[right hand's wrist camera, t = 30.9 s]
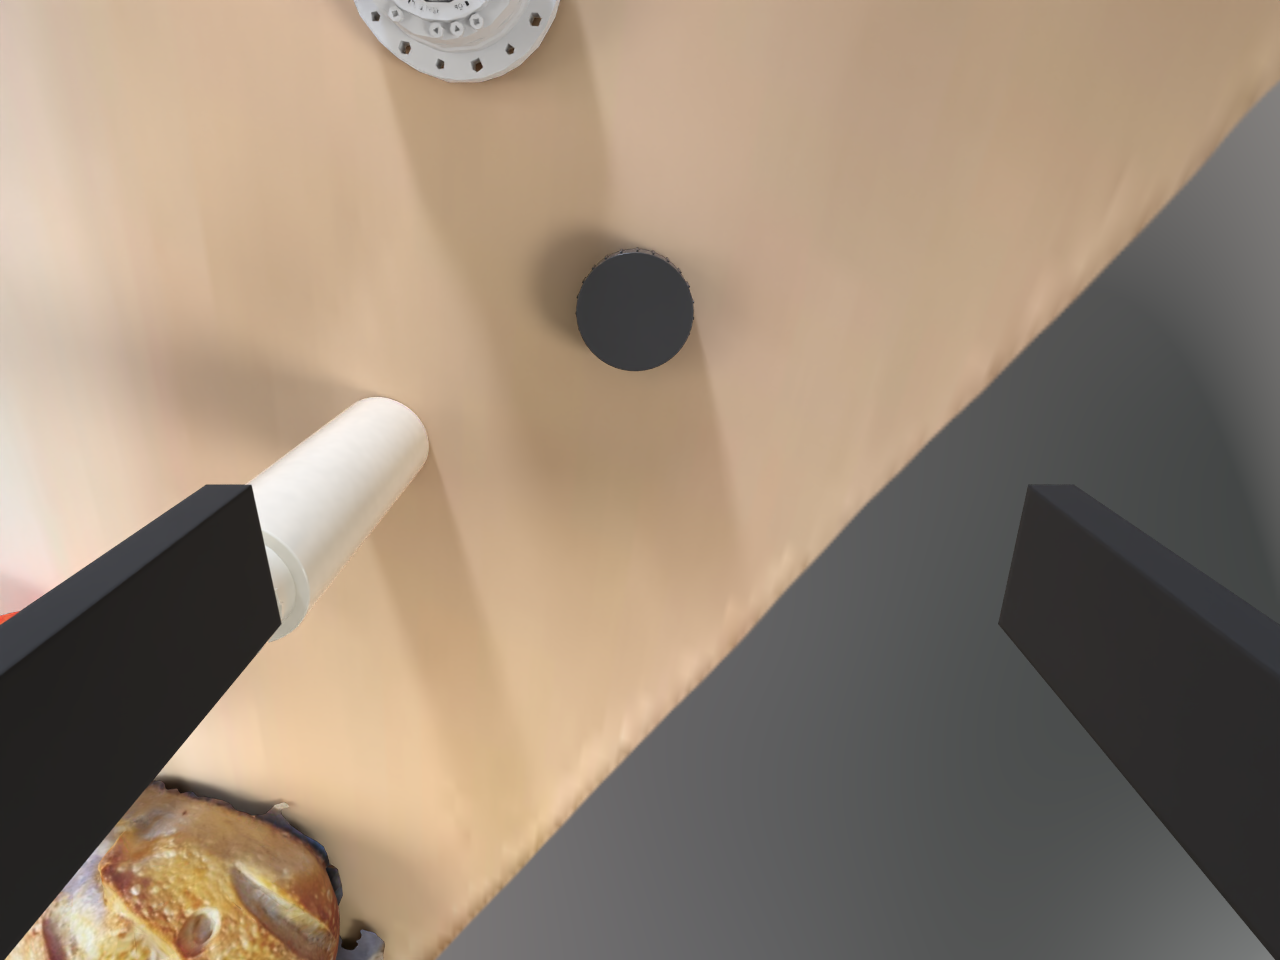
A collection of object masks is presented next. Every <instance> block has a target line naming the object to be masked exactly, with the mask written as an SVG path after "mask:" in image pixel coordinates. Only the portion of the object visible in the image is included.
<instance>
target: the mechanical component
mask: <svg viewBox="0 0 1280 960" xmlns="http://www.w3.org/2000/svg"><path fill="white" fill-rule="evenodd" d="M354 2H355V5H356V7H357V10H358V12H359V14H360V16H361V18H362V19H363V20H364V22H365V23H366V24H367V26H368V27H369V28H370V30H371V31H372V32H373V33H374V35H375V36H376V37H377V39H378V40H379V41H380V42H381V43H382V44H383V45H384V46H385V47H386V48H387V49H388V50H389V51H391V52H392V53H393V54H394V55H395V56H396V57H397V58H399V59H400V60H402V61H403V62H405V63H406V64H408V65H410V66H411V67H413V68H414V69H416V70H418V71H419V72H422V73H425V74H427V75H430V76H433V77H435V78H438V79H441V80H443V81H446V82H483V81H486V80H490V79H493V78H496V77H500V76H502V75H504V74H506V73H508V72H509V71H511V70H513V69H514V68H516V67H518V66H520V65H521V64H522V63H523V62H524V61H525V60H526V59H527V58H528V57H529V56H530V55H531V54H532V53H533V52H534V51H535V50H536V49H537V48H538V47H539V46H540V44H541V42H542V40H543V39H544V37H545V35H546V33H547V32H548V30H549V28H550V26H551V24H552V22H553V21H554V19H555V17H556V13H557V10H558V6H559V3H560V0H354ZM534 18H541V21H540V24H539V26H532V23H533V20H534ZM378 20H379V21H378ZM408 45H410V47H411V50H410V52H409V54H406V53H405V51H406V47H407V46H408ZM512 48H515V49H514V53H513V54H510V55H509V50H511V49H512ZM479 62H481V64H482V66H483V68H482V69H481V70H479V71H478V72H476V64H477V63H479ZM443 64H444V68H443V69H441V67H442V65H443Z"/></svg>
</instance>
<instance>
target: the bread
mask: <svg viewBox="0 0 1280 960" xmlns="http://www.w3.org/2000/svg"><path fill="white" fill-rule="evenodd" d="M283 808H289V806H288V804H287V803H284V802H283V803H280V804H277V805H274V806H273V807H272V808H271V809H270V810H269V811H268V812H267V813H265V814H262V815H255V816H251V815H250V814H248V813H245V812H240V811H236V810H235V809H234V808H233V806H232V805H231V804H230V803H228V802H226V801H223V800H219V799H214V798H208V797H198V796H197V795H196V794H195V793H194V792H190V791H189V792H185V793H180V792H179V791H178V789H170V790H168V789H166V788H165V784H164V783H163V782H162V781H160V780H158V781H152V782H151V783H150V784H149V785H148V787H147V788H146V789H145V790H144V792H143V793H142V794H141V795H140V796H139V798H138V799H137V800H136V801H135V802H134V804H133V805H132V806H131V807H130V808H129V810H128V811H127V812H126V813H125V815H124V816H123V817H122V818H121V819H120V821H119V822H118V823H117V824H116V825H115V827H114V828H113V829H112V830H111V831H110V833H109V834H108V835H107V836H106V838H105V839H104V840H103V841H102V842H101V844H100V845H99V846H98V847H97V848H96V850H95V851H94V852H93V853H92V855H91V856H90V857H89V858H88V859H87V861H86V862H85V863H84V864H83V865H82V867H81V868H80V869H79V870H78V871H77V873H76V874H75V875H74V876H73V878H72V879H71V880H70V881H69V882H68V884H67V885H66V886H65V887H64V888H63V890H62V891H61V892H60V893H59V895H58V896H57V897H56V898H55V899H54V901H53V902H52V903H51V904H50V905H49V907H48V908H47V909H46V910H45V911H44V913H43V914H42V915H41V916H40V918H39V919H38V920H37V921H36V922H35V924H34V925H33V926H32V927H31V928H30V930H29V931H28V932H27V933H26V935H25V936H24V937H23V938H22V939H21V941H20V942H19V943H18V944H17V945H16V947H15V948H14V949H13V950H12V951H11V953H10V954H9V955H8V956H7V958H6V959H5V960H383V953H384V947H385V944H384V941H383V940H382V939H381V938H379V937H378V936H377V935H376V933H374V932H368V931H365V930H361V931H360V932H361V936H362V937H361V938H360V939H359V940H357V941H356V942H357V943H358V946H356V948H355V949H354V950H346V949H344V948H342V947H341V944H342V939H341V937H340V935H339V926H340V918H339V907H338V905H339V903H340V900H341V898H342V896H343V893H342V885H341V881H340V877H339V873H338V869H337V868H335V867H334V866H332V865H330V864H329V860H328V856H327V853H326V851H325V849H324V847H323V846H322V845H321V844H319V843H318V842H317V841H315V840H313V839H311V838H309V837H307V836H306V835H304V834H302V833H301V832H299V831H298V830H297V829H295V828H294V827H292V826H291V825H290V824H289V822H288V821H287V820H286V819H285V818H284V817H283V816H282V814H281V810H282V809H283Z"/></svg>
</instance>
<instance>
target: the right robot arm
mask: <svg viewBox="0 0 1280 960" xmlns="http://www.w3.org/2000/svg"><path fill="white" fill-rule="evenodd" d="M281 624H282V623H281V618H280V614H279V609H278V604H277V600H276V595H275V590H274V586H273V581H272V577H271V572H270V567H269V563H268V558H267V553H266V549H265V544H264V539H263V535H262V530H261V526H260V521H259V516H258V512H257V507H256V502H255V498H254V493H253V488H252V485H205V486H204V487H202V488H201V489H199V490H198V491H196V492H195V493H193V494H192V495H190V496H189V497H187V498H186V499H184V500H183V501H182V502H180V503H179V504H177V505H176V506H174V507H173V508H171V509H170V510H168V511H167V512H165V513H164V514H162V515H161V516H159V517H158V518H157V519H155V520H154V521H152V522H151V523H149V524H148V525H146V526H145V527H143V528H142V529H140V530H139V531H137V532H136V533H134V534H133V535H132V536H130V537H129V538H127V539H126V540H124V541H123V542H121V543H120V544H118V545H117V546H115V547H114V548H112V549H111V550H109V551H108V552H107V553H105V554H104V555H102V556H101V557H99V558H98V559H96V560H95V561H93V562H92V563H90V564H89V565H87V566H86V567H85V568H83V569H82V570H80V571H79V572H77V573H76V574H74V575H73V576H71V577H70V578H68V579H67V580H65V581H64V582H62V583H61V584H60V585H58V586H57V587H55V588H54V589H52V590H51V591H49V592H48V593H46V594H45V595H43V596H42V597H40V598H39V599H37V600H36V601H35V602H33V603H32V604H30V605H29V606H27V607H26V608H24V609H23V610H21V611H20V612H18V613H17V614H15V615H14V616H12V617H11V618H10V619H8V620H7V621H5V622H4V623H2V624H1V625H0V960H5V959H6V958H7V956H8V955H9V954H10V953H11V951H12V950H13V949H14V948H15V947H16V945H17V944H18V943H19V942H20V941H21V939H22V938H23V937H24V936H25V935H26V933H27V932H28V931H29V930H30V928H31V927H32V926H33V925H34V924H35V922H36V921H37V920H38V919H39V918H40V916H41V915H42V914H43V913H44V911H45V910H46V909H47V908H48V907H49V905H50V904H51V903H52V902H53V901H54V899H55V898H56V897H57V896H58V895H59V893H60V892H61V891H62V890H63V888H64V887H65V886H66V885H67V884H68V882H69V881H70V880H71V879H72V878H73V876H74V875H75V874H76V873H77V871H78V870H79V869H80V868H81V867H82V865H83V864H84V863H85V862H86V861H87V859H88V858H89V857H90V856H91V855H92V853H93V852H94V851H95V850H96V848H97V847H98V846H99V845H100V844H101V842H102V841H103V840H104V839H105V838H106V836H107V835H108V834H109V833H110V831H111V830H112V829H113V828H114V827H115V825H116V824H117V823H118V822H119V821H120V819H121V818H122V817H123V816H124V815H125V813H126V812H127V811H128V810H129V808H130V807H131V806H132V805H133V804H134V802H135V801H136V800H137V799H138V798H139V796H140V795H141V794H142V793H143V792H144V790H145V789H146V788H147V787H148V785H149V784H150V783H151V782H152V781H153V779H154V778H155V777H156V776H157V775H158V773H159V772H160V771H161V770H162V768H163V767H164V766H165V765H166V764H167V762H168V761H169V760H170V759H171V758H172V756H173V755H174V754H175V753H176V752H177V750H178V749H179V748H180V747H181V745H182V744H183V743H184V742H185V741H186V739H187V738H188V737H189V736H190V735H191V733H192V732H193V731H194V730H195V728H196V727H197V726H198V725H199V724H200V722H201V721H202V720H203V719H204V718H205V716H206V715H207V714H208V713H209V712H210V710H211V709H212V708H213V707H214V705H215V704H216V703H217V702H218V701H219V699H220V698H221V697H222V696H223V695H224V693H225V692H226V691H227V690H228V688H229V687H230V686H231V685H232V684H233V682H234V681H235V680H236V679H237V678H238V676H239V675H240V674H241V673H242V672H243V670H244V669H245V668H246V667H247V665H248V664H249V663H250V662H251V661H252V659H253V658H254V657H255V656H256V655H257V653H258V652H259V651H260V650H261V648H262V647H263V646H264V645H265V644H266V642H267V641H268V640H269V639H270V638H271V636H272V635H273V634H274V633H275V632H276V630H277V629H278V628H279V627H280V625H281ZM998 624H999V625H1000V627H1001V628H1002V629H1003V630H1004V632H1005V633H1006V634H1007V635H1008V636H1009V638H1010V639H1011V640H1012V641H1013V642H1014V644H1015V645H1016V646H1017V647H1018V648H1019V650H1020V651H1021V652H1022V653H1023V655H1024V656H1025V657H1026V658H1027V659H1028V661H1029V662H1030V663H1031V664H1032V665H1033V667H1034V668H1035V669H1036V670H1037V672H1038V673H1039V674H1040V675H1041V676H1042V678H1043V679H1044V680H1045V681H1046V682H1047V684H1048V685H1049V686H1050V687H1051V688H1052V690H1053V691H1054V692H1055V693H1056V695H1057V696H1058V697H1059V698H1060V699H1061V700H1062V702H1063V703H1064V704H1065V705H1066V707H1067V708H1068V709H1069V710H1070V711H1071V713H1072V714H1073V715H1074V716H1075V718H1076V719H1077V720H1078V721H1079V722H1080V724H1081V725H1082V726H1083V727H1084V728H1085V730H1086V731H1087V732H1088V733H1089V735H1090V736H1091V737H1092V738H1093V739H1094V741H1095V742H1096V743H1097V744H1098V745H1099V747H1100V748H1101V749H1102V750H1103V752H1104V753H1105V754H1106V755H1107V756H1108V758H1109V759H1110V760H1111V761H1112V762H1113V764H1114V765H1115V766H1116V767H1117V768H1118V770H1119V771H1120V772H1121V773H1122V774H1123V776H1124V777H1125V778H1126V779H1127V781H1128V782H1129V783H1130V784H1131V785H1132V787H1133V788H1134V789H1135V790H1136V792H1137V793H1138V794H1139V795H1140V796H1141V798H1142V799H1143V800H1144V801H1145V802H1146V804H1147V805H1148V806H1149V807H1150V808H1151V810H1152V811H1153V812H1154V813H1155V815H1156V816H1157V817H1158V818H1159V819H1160V821H1161V822H1162V823H1163V824H1164V825H1165V827H1166V828H1167V829H1168V830H1169V831H1170V833H1171V834H1172V835H1173V836H1174V838H1175V839H1176V840H1177V841H1178V842H1179V843H1180V845H1181V846H1182V847H1183V848H1184V850H1185V851H1186V852H1187V853H1188V855H1189V856H1190V857H1191V858H1192V859H1193V861H1194V862H1195V863H1196V864H1197V865H1198V867H1199V868H1200V869H1201V870H1202V871H1203V873H1204V874H1205V875H1206V876H1207V878H1208V879H1209V880H1210V881H1211V882H1212V884H1213V885H1214V886H1215V887H1216V888H1217V890H1218V891H1219V892H1220V893H1221V895H1222V896H1223V897H1224V898H1225V899H1226V901H1227V902H1228V903H1229V904H1230V905H1231V907H1232V908H1233V909H1234V910H1235V911H1236V913H1237V914H1238V915H1239V916H1240V918H1241V919H1242V920H1243V921H1244V922H1245V924H1246V925H1247V926H1248V927H1249V928H1250V930H1251V931H1252V932H1253V933H1254V935H1255V936H1256V937H1257V938H1258V939H1259V941H1260V942H1261V943H1262V944H1263V945H1264V947H1265V948H1266V949H1267V950H1268V951H1269V953H1270V954H1271V955H1272V956H1273V957H1274V959H1275V960H1280V625H1279V624H1278V623H1276V622H1275V621H1273V620H1272V619H1270V618H1269V617H1267V616H1266V615H1265V614H1263V613H1262V612H1260V611H1259V610H1257V609H1256V608H1254V607H1253V606H1251V605H1250V604H1248V603H1247V602H1245V601H1244V600H1243V599H1241V598H1239V597H1238V596H1237V595H1235V594H1234V593H1232V592H1231V591H1229V590H1228V589H1226V588H1225V587H1223V586H1222V585H1220V584H1219V583H1218V582H1216V581H1215V580H1213V579H1212V578H1210V577H1209V576H1207V575H1206V574H1204V573H1203V572H1201V571H1200V570H1198V569H1197V568H1196V567H1194V566H1193V565H1191V564H1190V563H1188V562H1187V561H1185V560H1184V559H1182V558H1181V557H1179V556H1178V555H1176V554H1175V553H1173V552H1172V551H1171V550H1169V549H1168V548H1166V547H1165V546H1163V545H1162V544H1160V543H1159V542H1157V541H1156V540H1154V539H1153V538H1151V537H1150V536H1148V535H1147V534H1146V533H1144V532H1143V531H1141V530H1140V529H1138V528H1137V527H1135V526H1134V525H1132V524H1131V523H1129V522H1128V521H1126V520H1125V519H1123V518H1122V517H1121V516H1119V515H1118V514H1116V513H1115V512H1113V511H1112V510H1110V509H1109V508H1107V507H1106V506H1104V505H1103V504H1101V503H1100V502H1098V501H1097V500H1095V499H1094V498H1093V497H1091V496H1090V495H1088V494H1087V493H1085V492H1084V491H1082V490H1081V489H1079V488H1078V487H1076V486H1075V485H1028V488H1027V493H1026V498H1025V502H1024V507H1023V512H1022V516H1021V521H1020V526H1019V530H1018V535H1017V539H1016V544H1015V549H1014V553H1013V558H1012V563H1011V567H1010V572H1009V577H1008V581H1007V586H1006V591H1005V595H1004V600H1003V605H1002V609H1001V614H1000V618H999V623H998Z"/></svg>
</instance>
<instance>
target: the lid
mask: <svg viewBox="0 0 1280 960" xmlns="http://www.w3.org/2000/svg"><path fill="white" fill-rule="evenodd" d="M582 283H583V285H582V287H581V290H580V292H579V294H578V296H577V298H578V300H577V308H576V316H577V323H578V327H579V331H580V333H581V336H582V338H583V340H584V342H585V343H586V345H587V346H588V348H589V349H590V350H591V351H592V352H593V353H594V354H595V355H596V356H597V357H598V358H599V359H600V360H602V361H603V362H605V363H607V364H608V365H610V366H613V367H615V368H618V369H622V370H627V371H643V370H648V369H652V368H655V367H658V366H660V365H662V364H664V363H666V362H667V361H668V360H670V359H671V358H672V357H673V356H675V355H676V354H677V353H678V351H679V350H680V349H681V348H682V347H683V345H684V343H685V342H686V340H687V338H688V336H689V335H690V330H691V327H692V323H693V320H694V317H693V313H694V310H693V303H694V301H693V299H692V296H691V293H690V290H689V287H690V286H689V284H688V282H685V280H684V278H683V276H682V274H681V271H680V269H679V268H678V269H677V268H676V267H675V266H674V265H673V264H672V263H671V262H670V261H669V259H668V258H667V257H666V258H664V257H663V256H661V255H659V254H657V253H655V252H654V250H652V251H648V250H643V249H639V248H638V247H637V248H636V249H627V250H623V249H621V250H620V251H618V252H616V253H613V254H611V255H609V256H608V255H606V257H605V258H604V259H603V260H602V261H600V262H599V263H598V264H597V265H594V266H593V267H592V271H591V272H590V273H589V275H588V276H587V278H586V277H585V278H584V280H583V282H582Z"/></svg>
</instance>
